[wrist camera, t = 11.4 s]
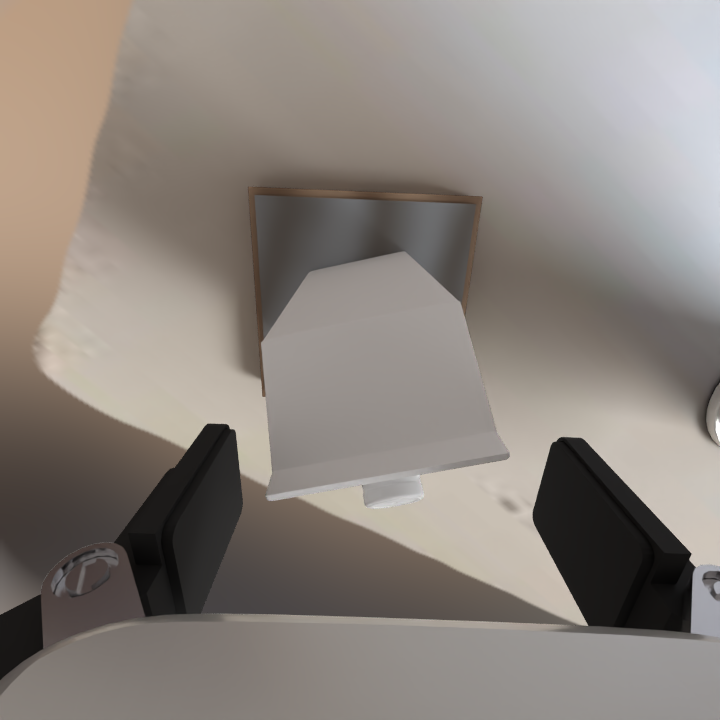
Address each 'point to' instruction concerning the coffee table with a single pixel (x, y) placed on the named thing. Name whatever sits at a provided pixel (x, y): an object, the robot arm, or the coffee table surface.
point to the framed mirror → (354, 239)
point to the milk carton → (373, 384)
